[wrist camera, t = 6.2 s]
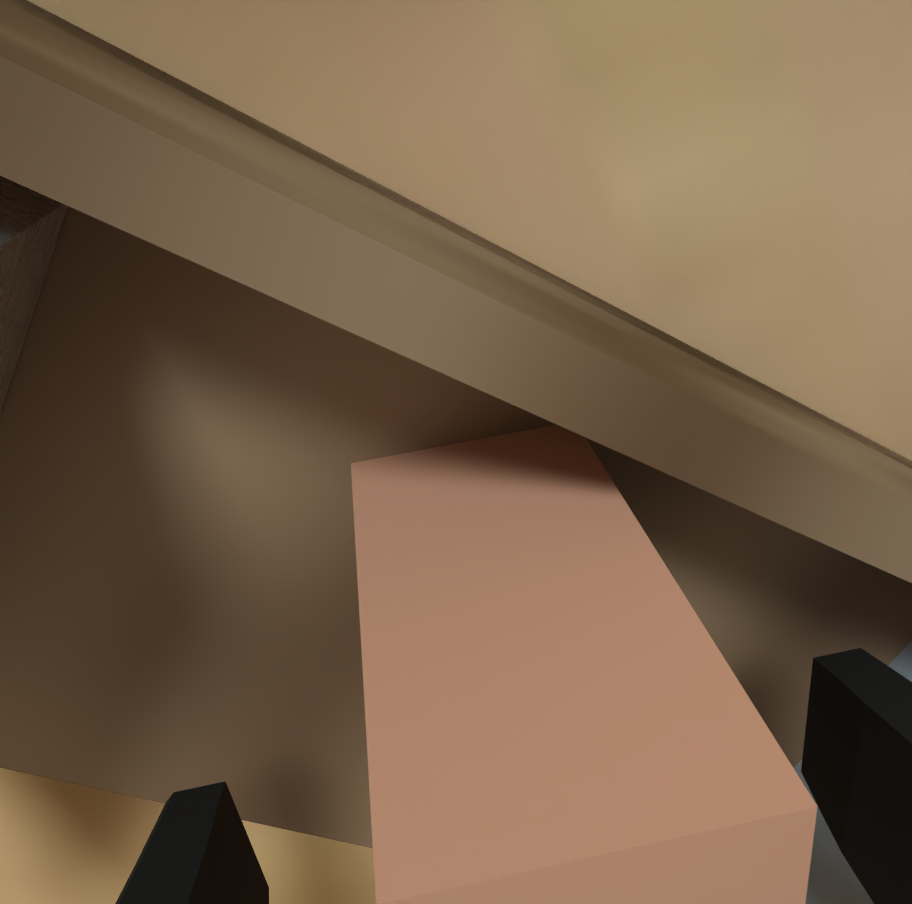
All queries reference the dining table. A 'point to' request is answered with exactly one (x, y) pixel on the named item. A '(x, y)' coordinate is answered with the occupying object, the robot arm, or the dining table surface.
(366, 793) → the shelf
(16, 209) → the bookend
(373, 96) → the dining table surface
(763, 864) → the terracotta book
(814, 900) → the slate book
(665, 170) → the dining table surface
